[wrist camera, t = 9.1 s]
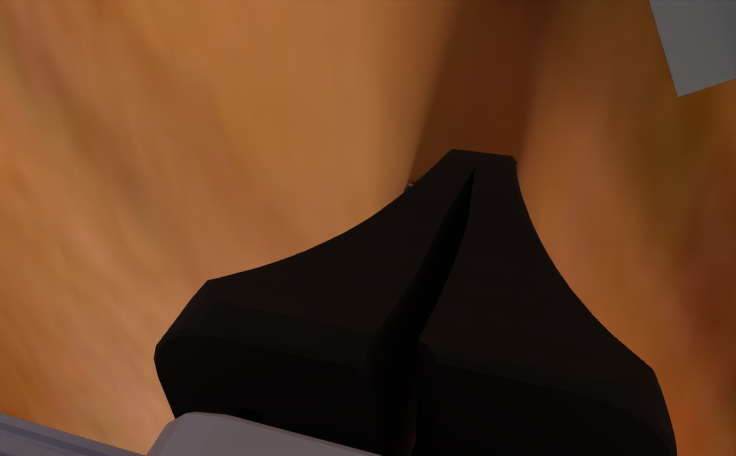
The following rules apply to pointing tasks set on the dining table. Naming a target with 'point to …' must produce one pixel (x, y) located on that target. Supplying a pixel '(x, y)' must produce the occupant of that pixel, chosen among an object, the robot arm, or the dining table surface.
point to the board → (697, 41)
